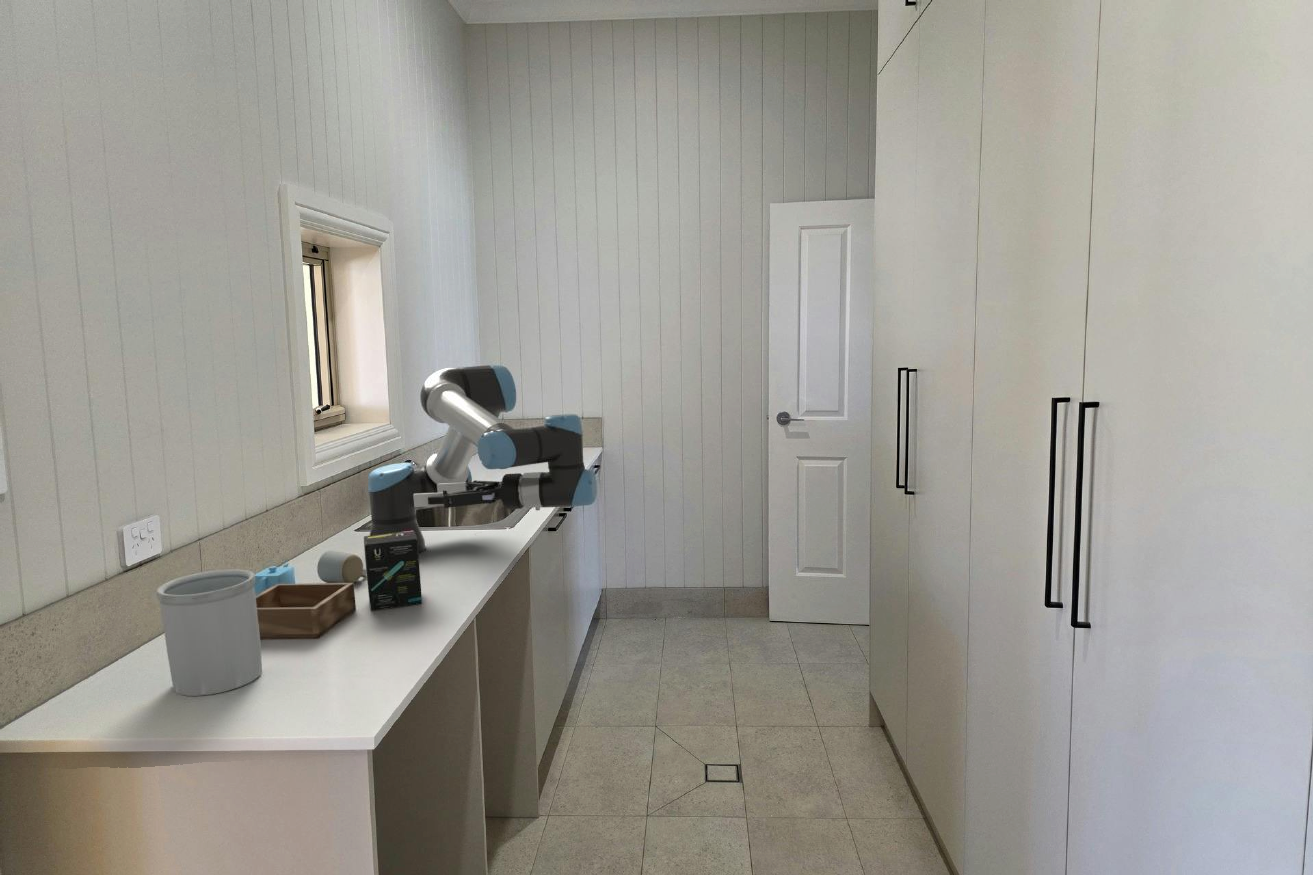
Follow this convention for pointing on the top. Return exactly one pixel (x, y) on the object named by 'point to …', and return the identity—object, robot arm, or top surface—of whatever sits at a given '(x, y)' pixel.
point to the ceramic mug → (340, 567)
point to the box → (303, 609)
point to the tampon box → (392, 570)
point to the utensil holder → (211, 631)
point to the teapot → (273, 577)
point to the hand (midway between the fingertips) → (426, 494)
